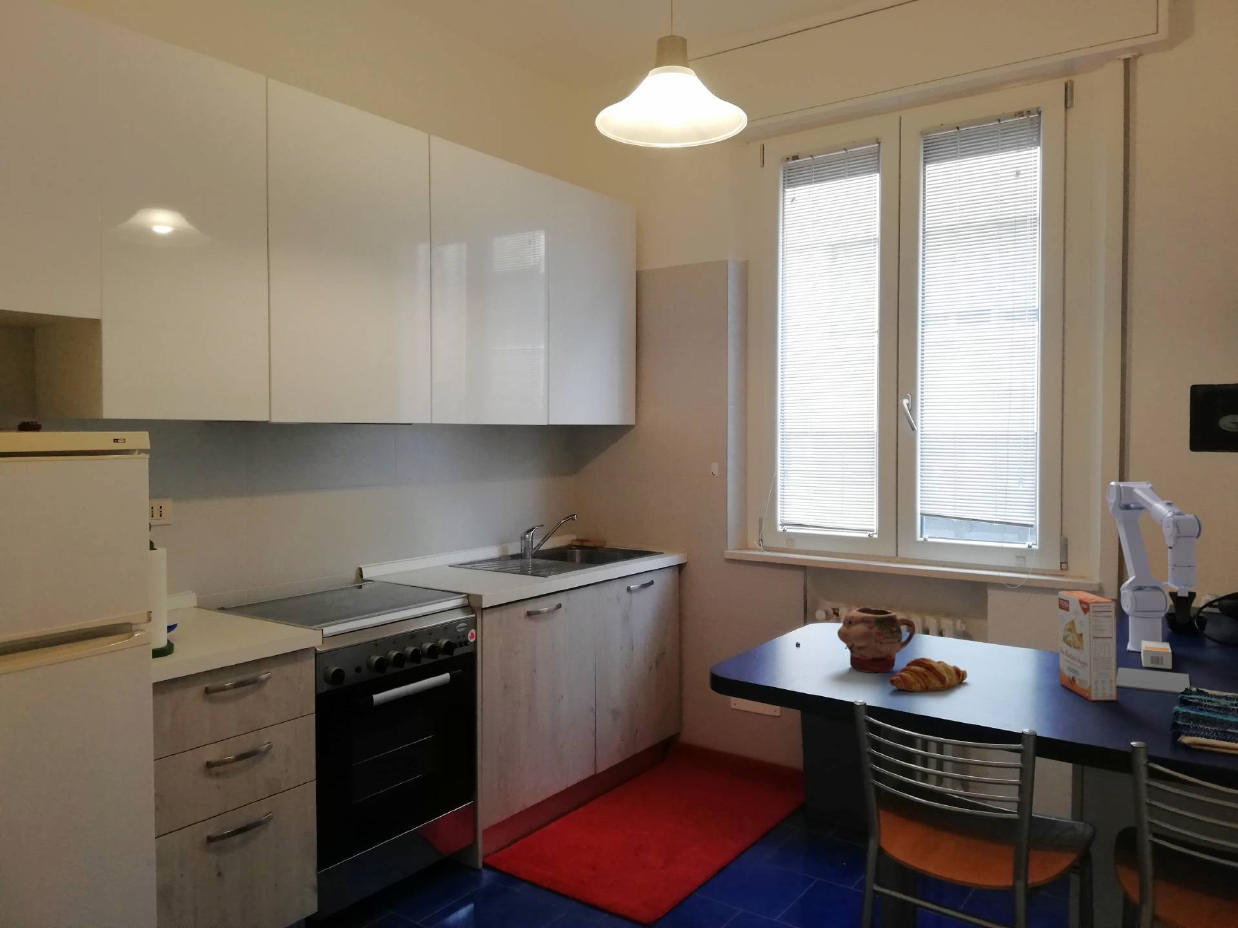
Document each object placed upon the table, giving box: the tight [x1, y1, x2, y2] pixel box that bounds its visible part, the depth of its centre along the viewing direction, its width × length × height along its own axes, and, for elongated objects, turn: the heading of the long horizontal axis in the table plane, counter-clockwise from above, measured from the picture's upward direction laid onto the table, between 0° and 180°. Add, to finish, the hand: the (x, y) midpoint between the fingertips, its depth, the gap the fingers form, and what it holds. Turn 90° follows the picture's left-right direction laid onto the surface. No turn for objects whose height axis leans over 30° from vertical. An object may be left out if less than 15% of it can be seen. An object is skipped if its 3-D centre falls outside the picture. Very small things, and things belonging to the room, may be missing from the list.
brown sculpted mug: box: [837, 607, 916, 673], centre depth 218 cm, size 20×12×14 cm, turn 108°
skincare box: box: [1140, 640, 1173, 670], centre depth 220 cm, size 6×4×12 cm
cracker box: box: [1058, 590, 1118, 702], centre depth 194 cm, size 14×6×21 cm, turn 178°
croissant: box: [889, 657, 968, 693], centre depth 201 cm, size 21×10×8 cm, turn 114°
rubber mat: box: [1116, 667, 1191, 695], centre depth 203 cm, size 18×14×1 cm
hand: (1182, 622), depth 217 cm, fingers closed
